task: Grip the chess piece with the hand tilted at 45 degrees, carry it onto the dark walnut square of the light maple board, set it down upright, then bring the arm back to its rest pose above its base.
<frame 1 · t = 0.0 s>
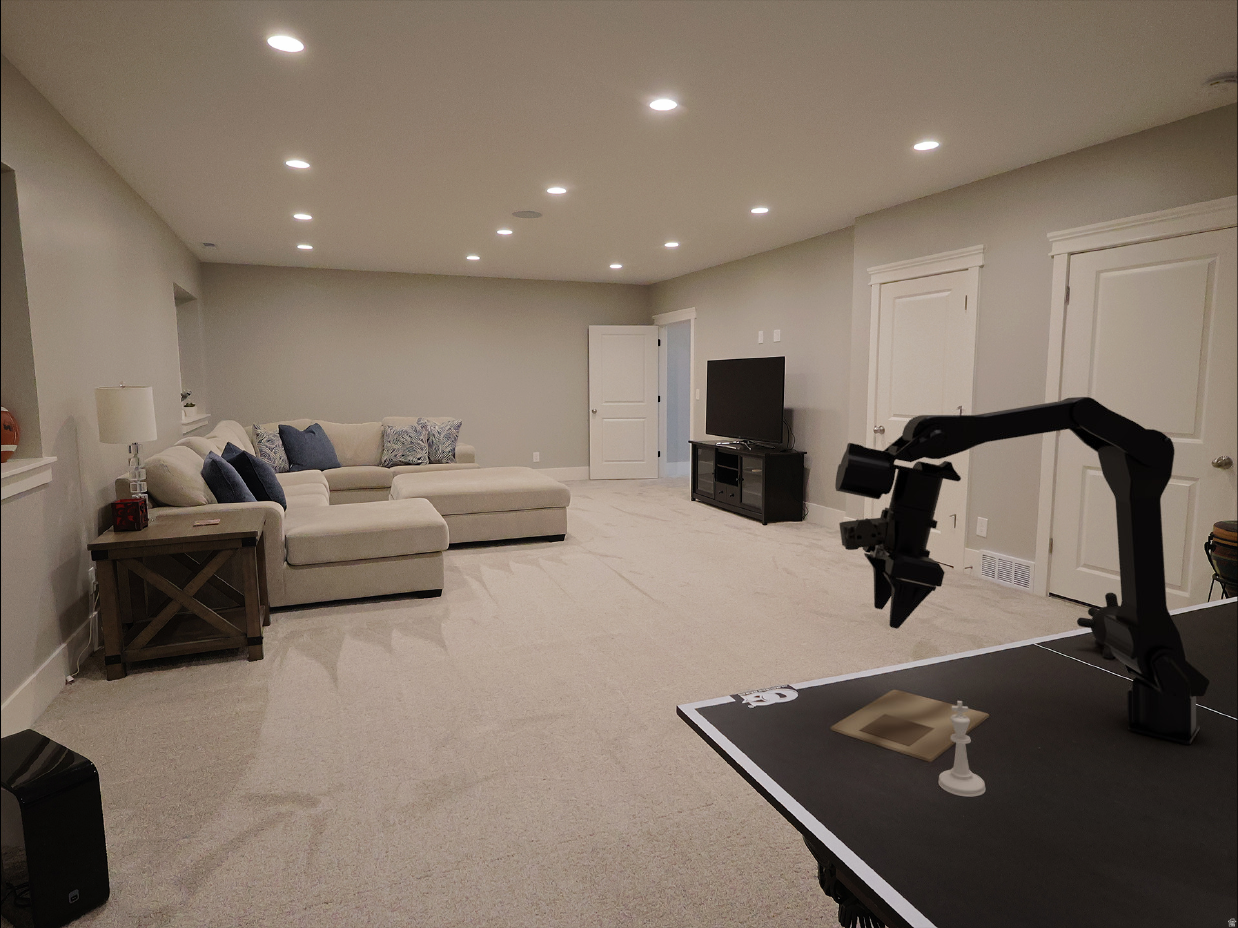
hand: (885, 617, 98), 15 cm above the table, tool pointing down, fingers open, 9 cm apart
chess piece: (961, 787, 83), on the table
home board: (910, 723, 100), on the table
knobbed dark ball: (1119, 654, 123), on the table
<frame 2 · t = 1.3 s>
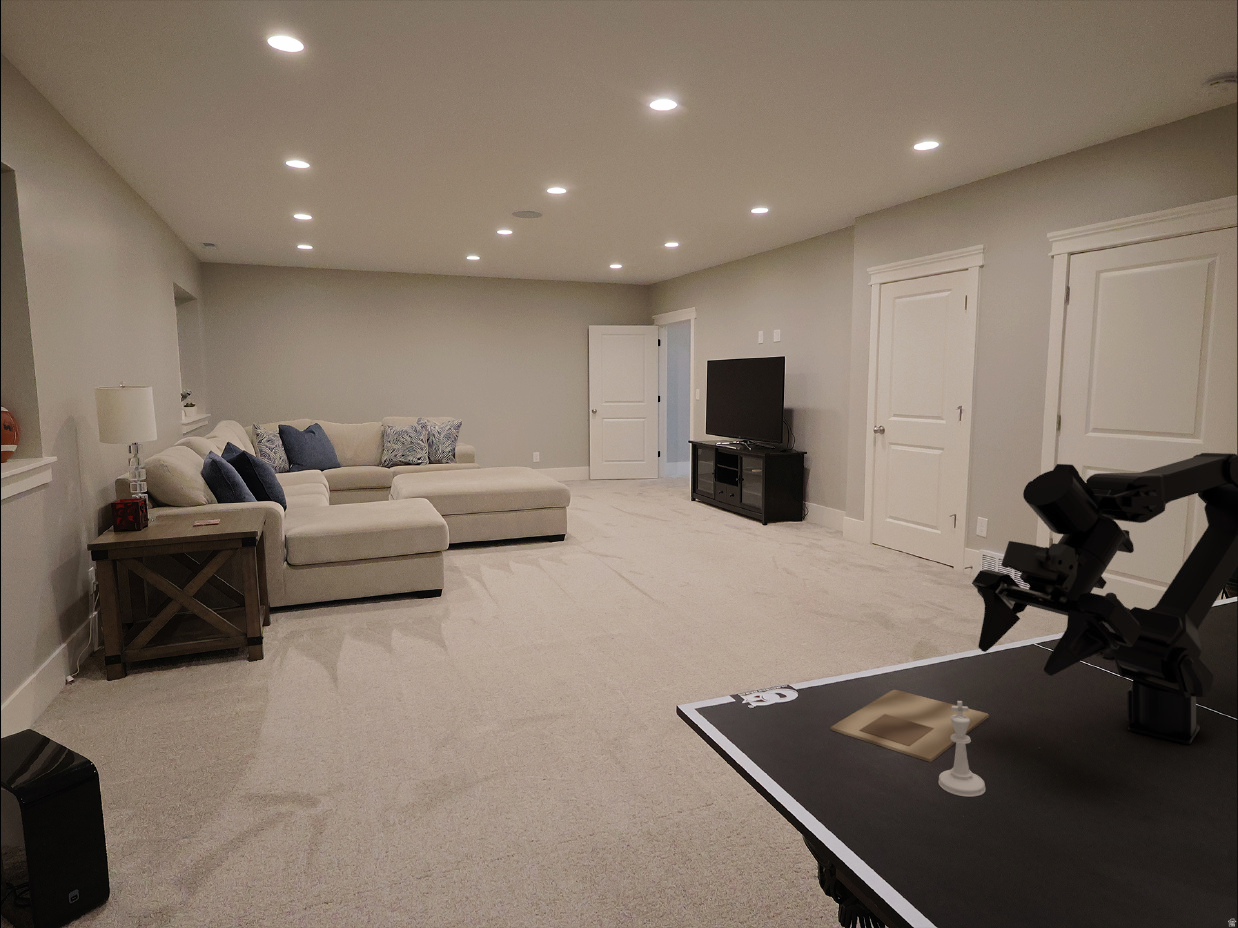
hand: (1012, 660, 85), 13 cm above the table, tool tilted 45°, fingers open, 9 cm apart
nothing on the table moved.
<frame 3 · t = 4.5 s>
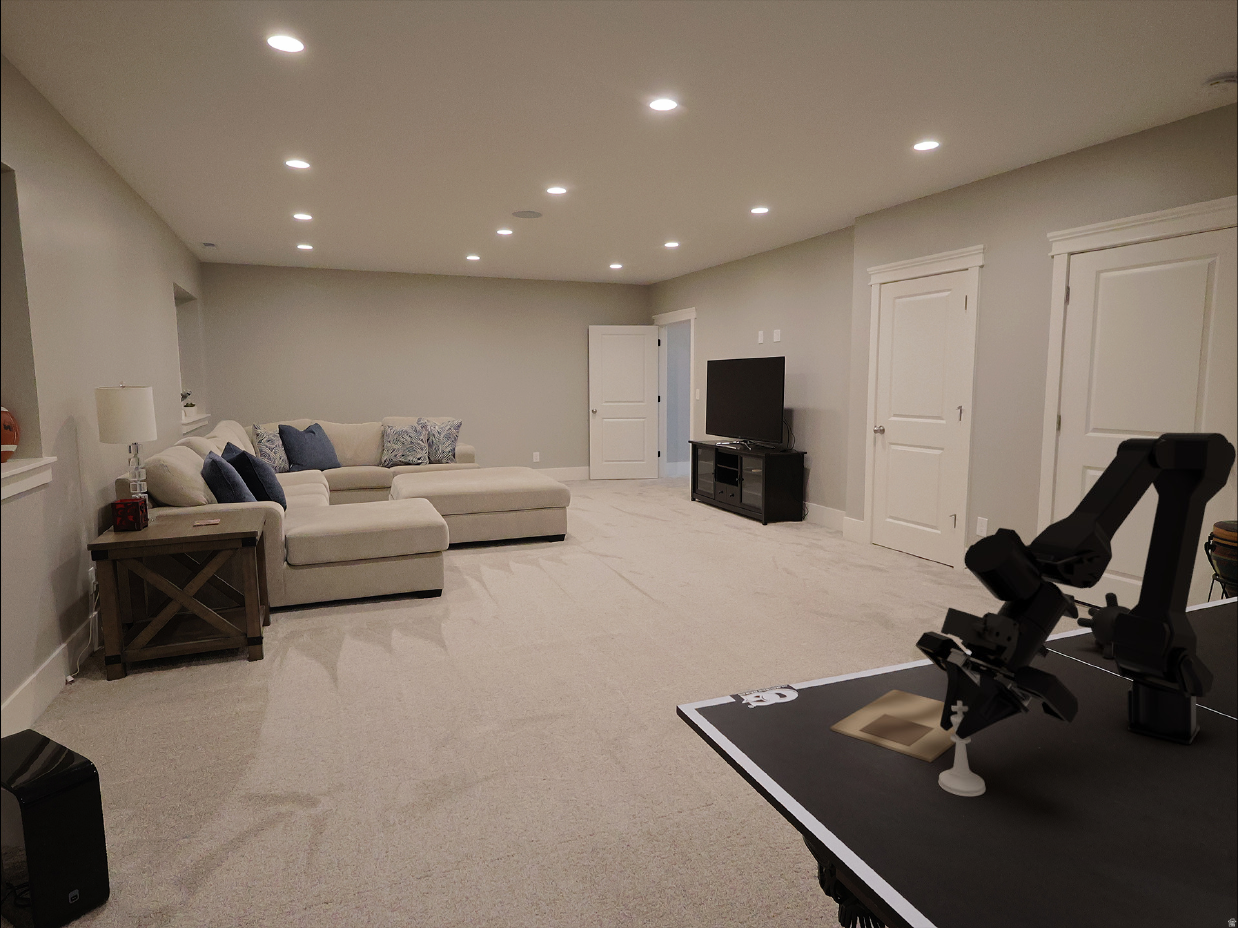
hand: (950, 732, 82), 7 cm above the table, tool tilted 45°, fingers closed on chess piece
chess piece: (961, 787, 83), on the table, touching gripper
everything else where it was.
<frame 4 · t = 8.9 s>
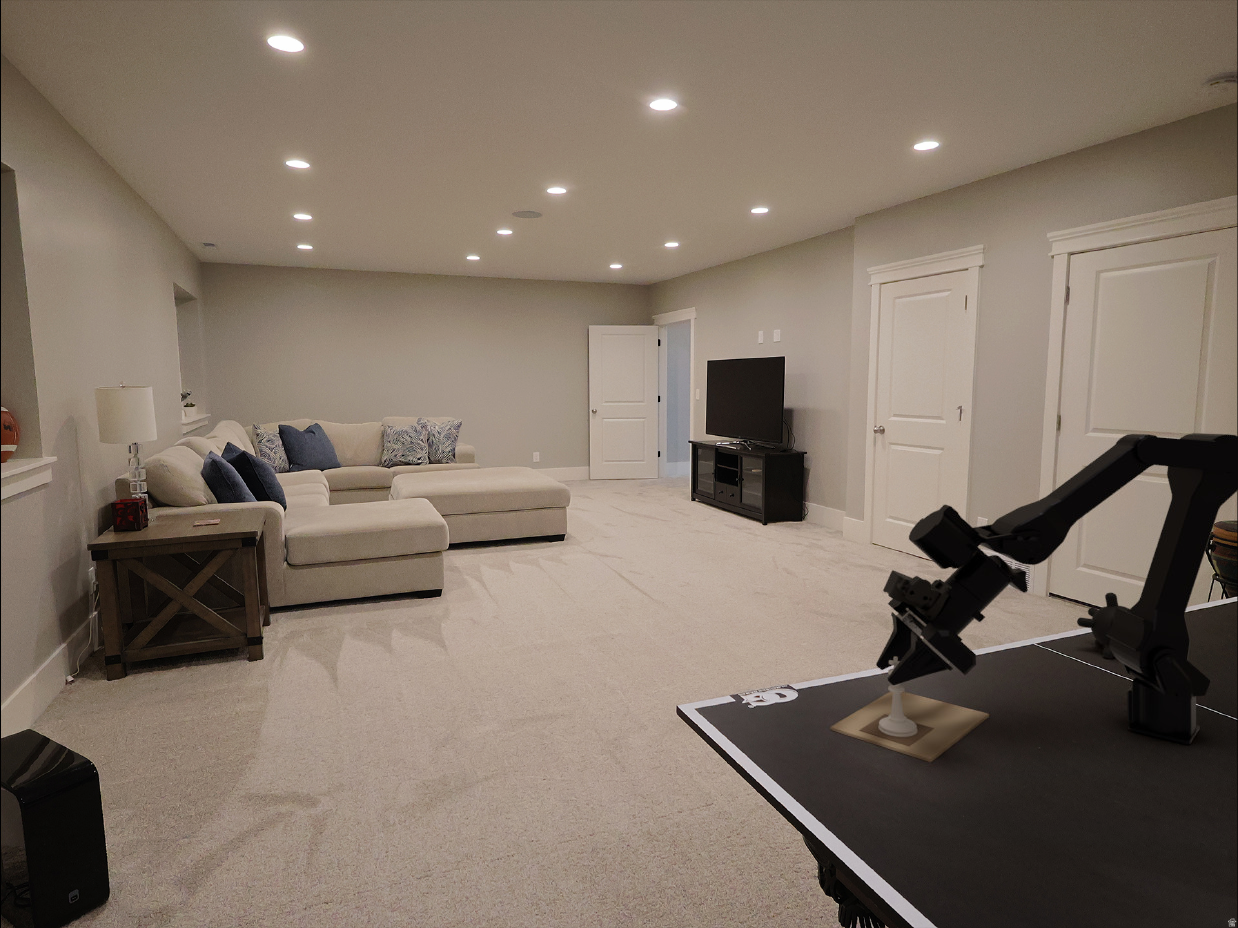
hand: (884, 674, 97), 8 cm above the table, tool tilted 45°, fingers open, 5 cm apart
chess piece: (897, 730, 97), resting on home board
everything else where it was.
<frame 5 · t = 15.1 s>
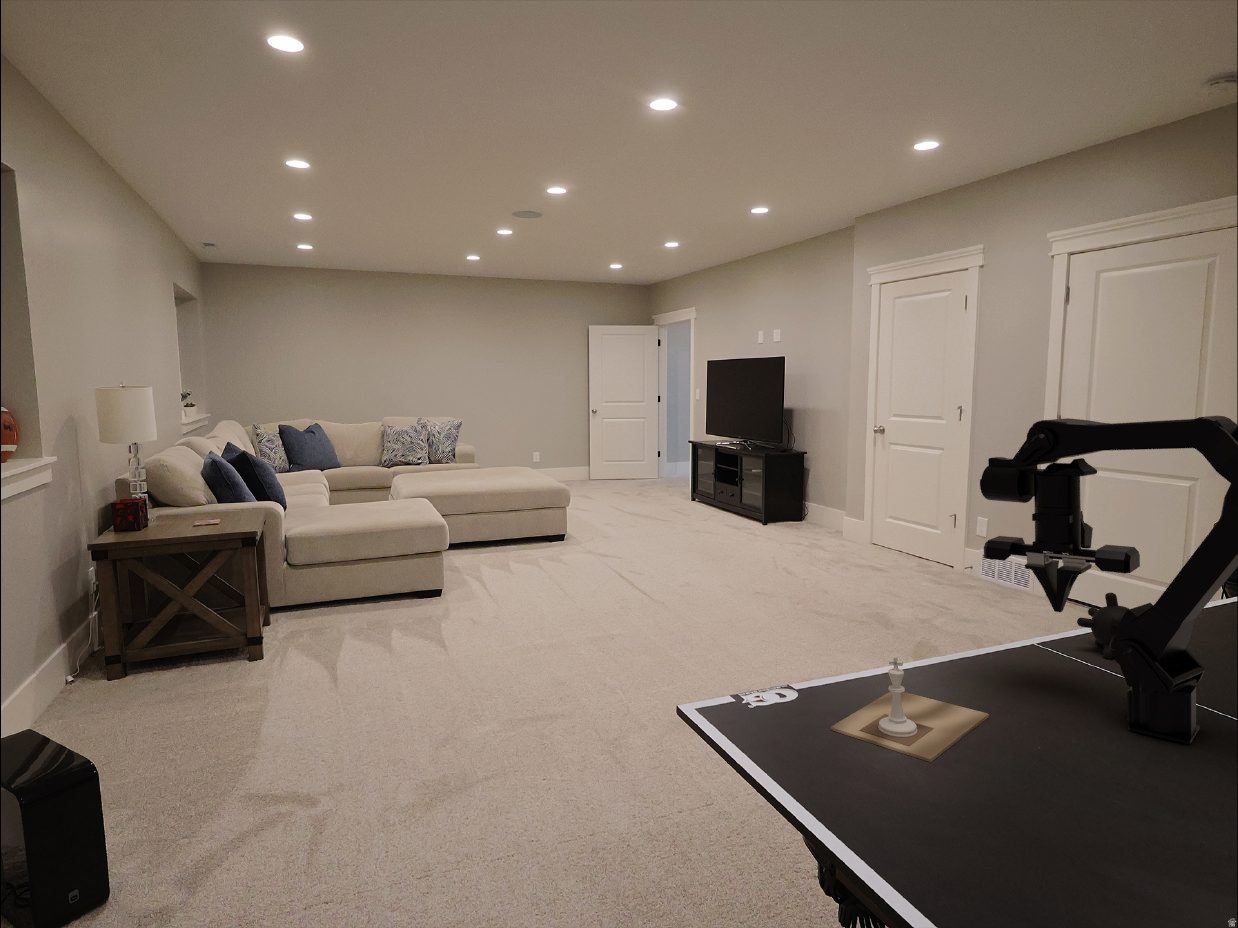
hand: (1058, 611, 105), 13 cm above the table, tool pointing down, fingers closed
nothing on the table moved.
at the end: chess piece 0.2 cm from the target spot on the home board, point 0.3 cm above the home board's base; chess piece tilted 0°; the gripper is holding nothing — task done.
